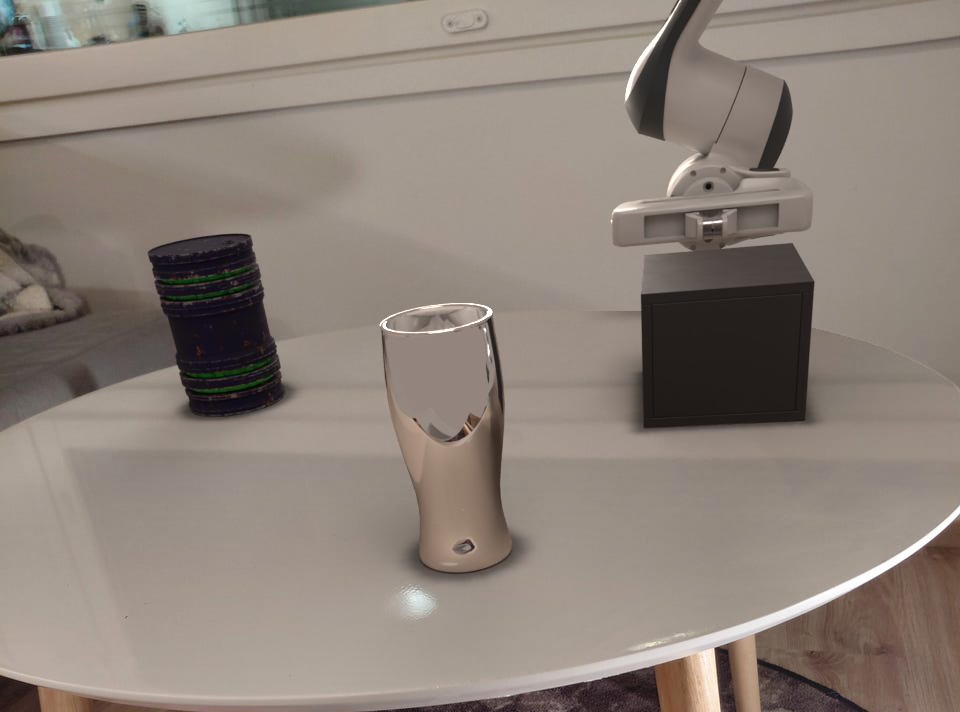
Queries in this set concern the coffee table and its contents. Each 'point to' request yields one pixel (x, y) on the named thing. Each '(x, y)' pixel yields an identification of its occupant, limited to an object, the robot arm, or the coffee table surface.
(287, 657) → the coffee table surface
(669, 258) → the cabinet
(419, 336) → the beer glass
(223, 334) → the storage jar
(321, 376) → the coffee table surface
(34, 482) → the coffee table surface
